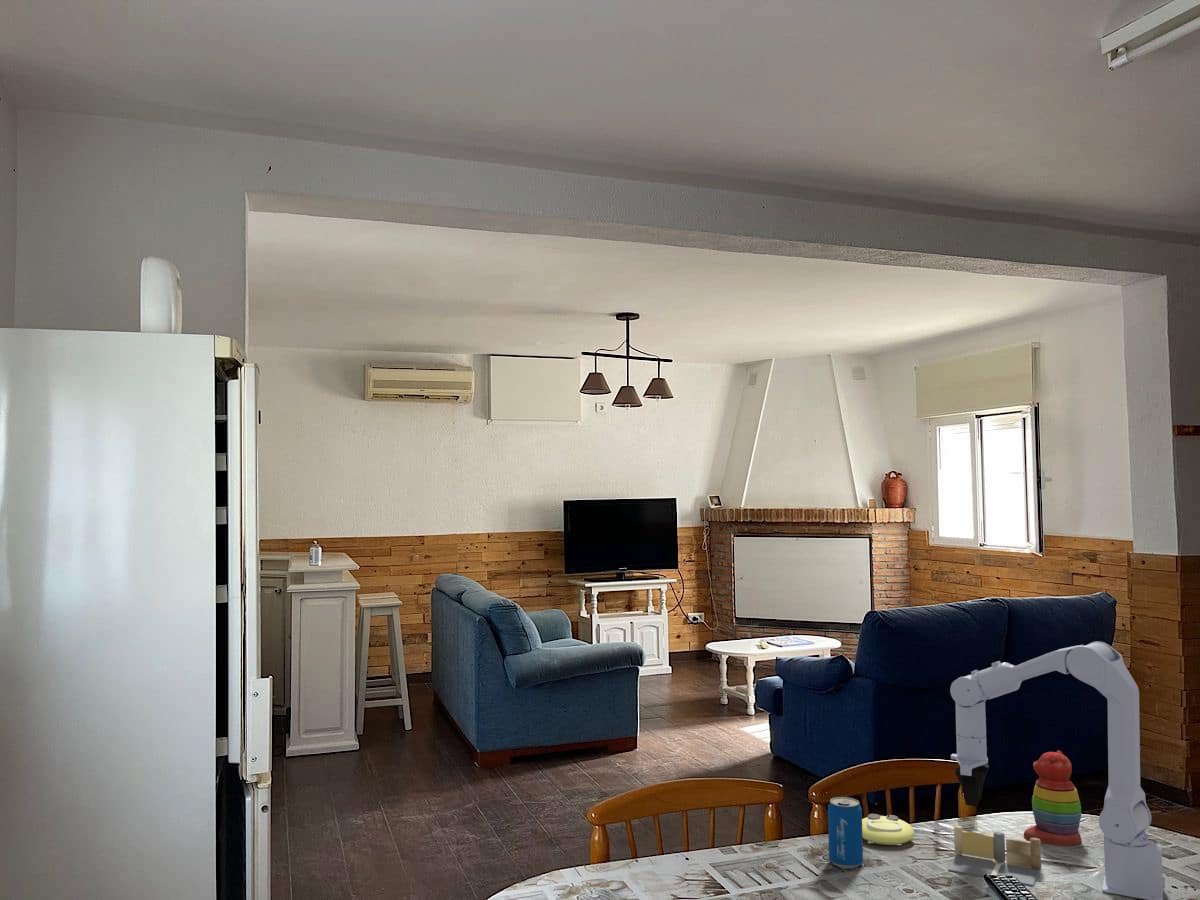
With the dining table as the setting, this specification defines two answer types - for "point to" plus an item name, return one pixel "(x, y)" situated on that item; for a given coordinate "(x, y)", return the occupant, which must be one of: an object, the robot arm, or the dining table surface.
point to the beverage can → (845, 832)
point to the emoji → (886, 830)
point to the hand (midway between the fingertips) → (973, 803)
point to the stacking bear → (1055, 802)
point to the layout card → (992, 868)
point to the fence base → (1024, 853)
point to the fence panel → (979, 844)
